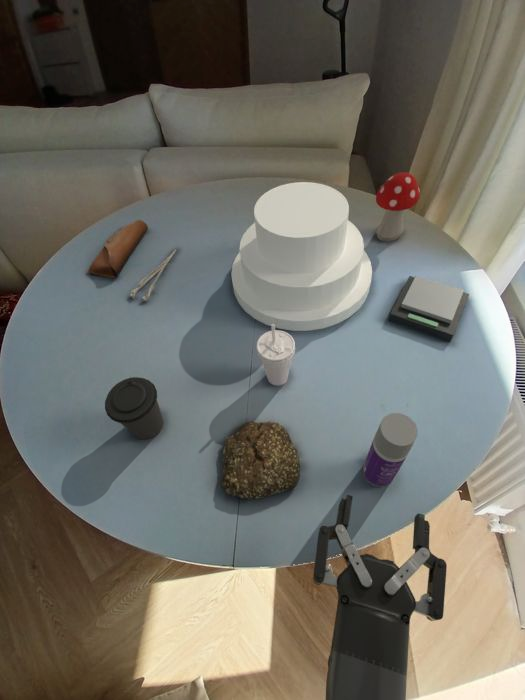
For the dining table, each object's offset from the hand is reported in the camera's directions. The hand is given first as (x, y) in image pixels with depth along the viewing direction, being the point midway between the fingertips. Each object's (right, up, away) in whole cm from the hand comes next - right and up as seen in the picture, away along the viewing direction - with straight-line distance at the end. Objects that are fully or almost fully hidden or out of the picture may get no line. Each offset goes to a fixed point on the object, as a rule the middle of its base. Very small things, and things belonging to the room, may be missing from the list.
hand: (383, 506), depth 49 cm
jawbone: (-39, +37, +42) cm, 68 cm away
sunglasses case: (-50, +43, +48) cm, 82 cm away
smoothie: (-12, +14, +23) cm, 30 cm away
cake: (-7, +35, +38) cm, 52 cm away
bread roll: (-16, +2, +14) cm, 21 cm away
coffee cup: (-35, +6, +19) cm, 40 cm away
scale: (+18, +27, +30) cm, 45 cm away
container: (+3, +1, +12) cm, 12 cm away
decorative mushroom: (+15, +47, +45) cm, 67 cm away
